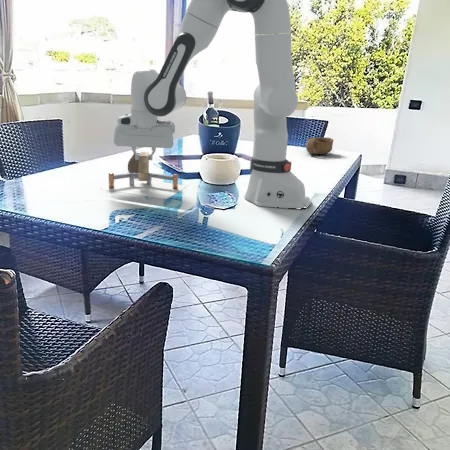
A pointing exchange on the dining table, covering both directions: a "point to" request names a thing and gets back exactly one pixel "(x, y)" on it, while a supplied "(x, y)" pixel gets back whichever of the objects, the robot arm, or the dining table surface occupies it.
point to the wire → (132, 175)
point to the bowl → (319, 145)
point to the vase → (133, 165)
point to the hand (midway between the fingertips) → (143, 159)
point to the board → (146, 188)
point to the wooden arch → (143, 166)
